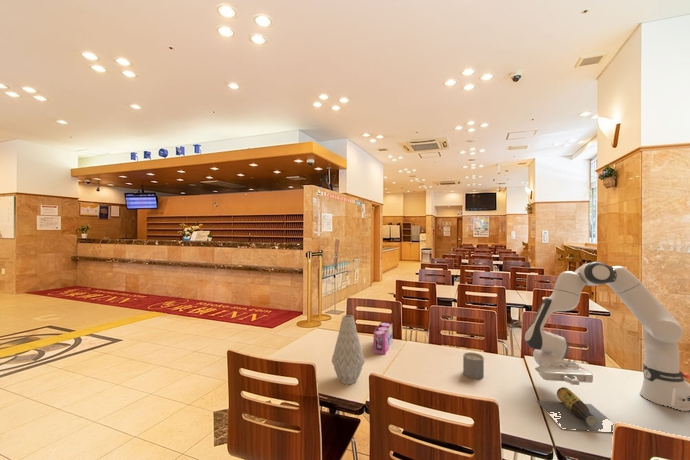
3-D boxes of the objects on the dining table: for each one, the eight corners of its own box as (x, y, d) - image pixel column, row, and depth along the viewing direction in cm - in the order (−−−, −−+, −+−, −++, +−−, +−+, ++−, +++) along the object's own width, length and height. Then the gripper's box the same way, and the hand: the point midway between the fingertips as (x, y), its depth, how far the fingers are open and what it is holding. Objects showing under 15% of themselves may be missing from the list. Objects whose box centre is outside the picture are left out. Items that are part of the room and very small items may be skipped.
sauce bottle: (560, 383, 138) (589, 408, 118) (573, 391, 137) (604, 417, 117) (552, 396, 138) (579, 422, 118) (565, 404, 137) (595, 431, 118)
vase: (367, 374, 163) (367, 313, 163) (360, 390, 147) (360, 322, 147) (337, 370, 168) (337, 310, 168) (327, 385, 152) (327, 319, 152)
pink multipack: (384, 355, 188) (384, 333, 188) (372, 354, 191) (372, 332, 191) (392, 342, 211) (392, 322, 211) (381, 340, 213) (381, 321, 213)
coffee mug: (482, 381, 156) (482, 361, 156) (461, 376, 161) (461, 357, 161) (485, 370, 168) (485, 352, 168) (466, 366, 173) (466, 348, 173)
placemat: (590, 405, 135) (590, 403, 135) (624, 433, 116) (624, 432, 116) (537, 402, 137) (537, 400, 137) (561, 429, 119) (561, 427, 119)
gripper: (533, 360, 144) (549, 374, 130) (580, 362, 142) (601, 376, 128) (533, 373, 144) (549, 389, 130) (580, 376, 142) (601, 392, 128)
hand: (575, 383), depth 129 cm, fingers closed
